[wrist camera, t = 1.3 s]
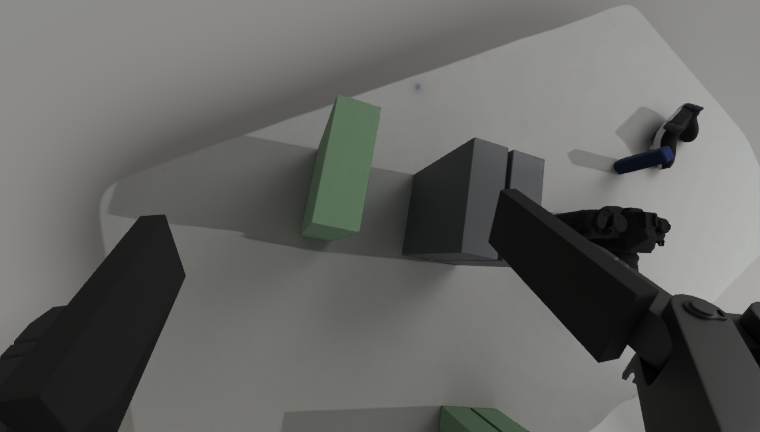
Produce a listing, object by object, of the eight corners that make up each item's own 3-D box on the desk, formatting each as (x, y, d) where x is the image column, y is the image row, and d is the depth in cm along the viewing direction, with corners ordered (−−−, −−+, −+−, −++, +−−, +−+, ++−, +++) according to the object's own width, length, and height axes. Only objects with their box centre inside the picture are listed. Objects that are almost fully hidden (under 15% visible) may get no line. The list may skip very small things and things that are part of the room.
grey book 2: (432, 260, 39) (502, 261, 27) (442, 182, 41) (513, 149, 29) (457, 265, 40) (536, 268, 28) (466, 188, 42) (545, 159, 30)
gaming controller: (665, 131, 58) (682, 95, 53) (695, 139, 56) (717, 102, 51) (635, 163, 55) (651, 128, 50) (666, 173, 52) (687, 137, 47)
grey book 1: (401, 254, 38) (460, 252, 26) (414, 174, 40) (474, 136, 28) (428, 259, 39) (497, 260, 27) (439, 181, 41) (508, 147, 29)
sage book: (299, 235, 35) (311, 222, 23) (317, 148, 37) (337, 93, 24) (331, 241, 36) (359, 232, 24) (347, 156, 38) (381, 107, 25)
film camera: (540, 281, 44) (604, 286, 35) (539, 210, 45) (599, 199, 37) (623, 283, 48) (697, 289, 40) (619, 219, 49) (690, 210, 41)
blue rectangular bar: (611, 163, 50) (661, 149, 44) (620, 158, 51) (670, 144, 45) (617, 175, 50) (667, 164, 44) (626, 170, 51) (676, 158, 45)
